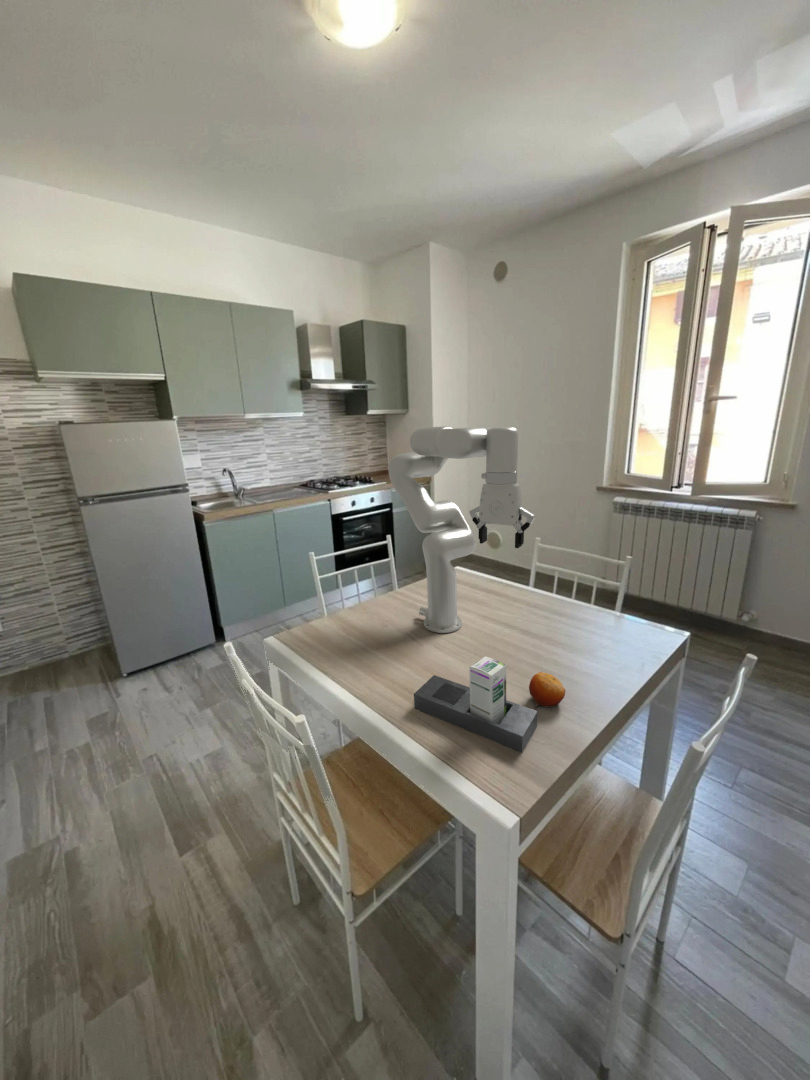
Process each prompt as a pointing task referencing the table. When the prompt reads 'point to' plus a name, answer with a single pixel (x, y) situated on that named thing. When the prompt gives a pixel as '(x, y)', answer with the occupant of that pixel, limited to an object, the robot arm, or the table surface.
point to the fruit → (546, 690)
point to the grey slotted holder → (454, 708)
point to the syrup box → (488, 689)
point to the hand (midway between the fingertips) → (500, 544)
